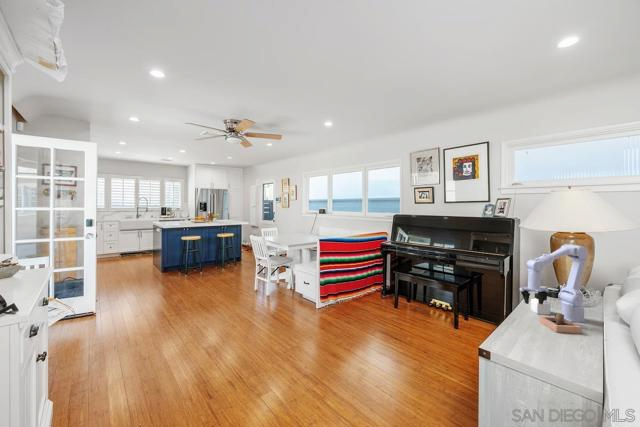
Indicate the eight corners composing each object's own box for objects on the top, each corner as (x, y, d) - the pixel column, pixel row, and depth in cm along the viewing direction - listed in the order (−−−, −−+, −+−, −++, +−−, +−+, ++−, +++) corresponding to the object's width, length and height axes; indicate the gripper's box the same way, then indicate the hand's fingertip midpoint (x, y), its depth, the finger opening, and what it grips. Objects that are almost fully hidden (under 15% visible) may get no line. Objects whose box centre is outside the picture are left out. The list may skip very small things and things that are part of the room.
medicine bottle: (550, 315, 162) (551, 295, 162) (537, 314, 164) (537, 294, 164) (543, 310, 169) (543, 292, 169) (530, 309, 171) (531, 291, 171)
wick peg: (560, 325, 147) (560, 313, 147) (565, 328, 144) (565, 315, 143) (554, 325, 147) (554, 313, 147) (558, 328, 144) (559, 315, 144)
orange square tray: (562, 323, 151) (562, 317, 151) (581, 333, 139) (581, 327, 139) (539, 322, 152) (540, 316, 152) (556, 332, 140) (556, 326, 140)
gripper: (525, 282, 152) (524, 305, 152) (553, 283, 151) (552, 306, 151) (517, 278, 159) (517, 301, 159) (543, 279, 158) (543, 302, 158)
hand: (533, 303), depth 156 cm, fingers open, 7 cm apart
